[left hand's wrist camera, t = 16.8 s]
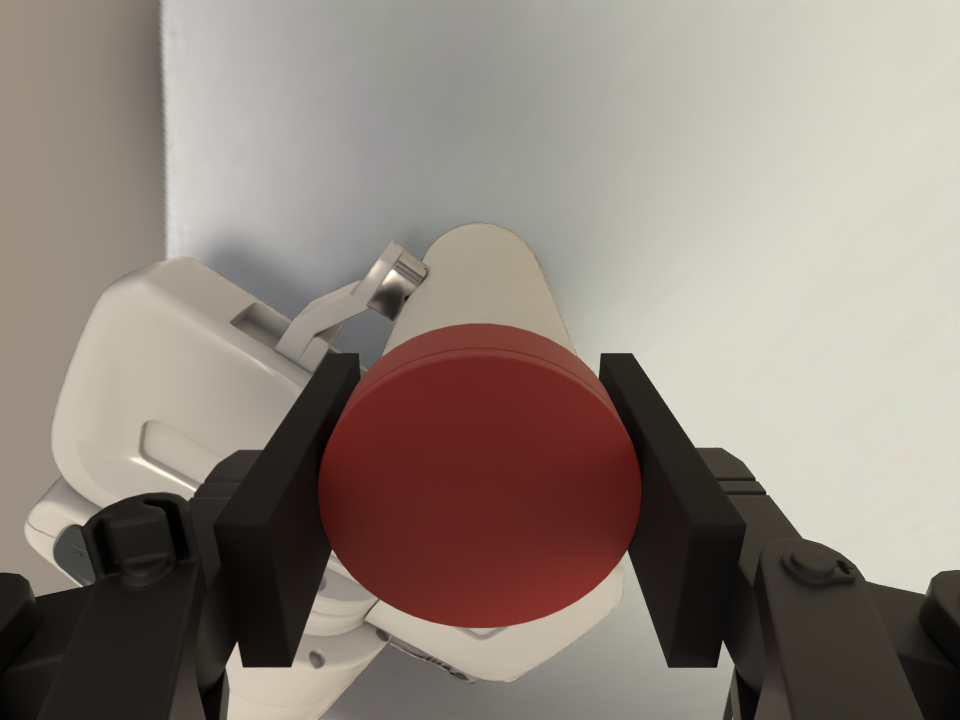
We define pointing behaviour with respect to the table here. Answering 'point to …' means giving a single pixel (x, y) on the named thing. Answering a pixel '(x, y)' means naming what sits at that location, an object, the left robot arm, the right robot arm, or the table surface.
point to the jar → (480, 287)
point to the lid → (479, 478)
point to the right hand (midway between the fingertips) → (494, 316)
